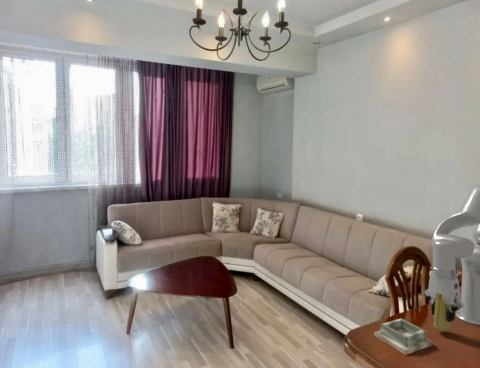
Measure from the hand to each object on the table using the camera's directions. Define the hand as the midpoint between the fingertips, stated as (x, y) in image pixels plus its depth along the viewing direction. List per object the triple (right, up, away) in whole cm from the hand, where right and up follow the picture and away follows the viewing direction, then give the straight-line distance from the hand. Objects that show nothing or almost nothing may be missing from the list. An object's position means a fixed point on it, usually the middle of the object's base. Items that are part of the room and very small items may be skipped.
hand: (442, 316), depth 133 cm
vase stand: (-18, -7, -4) cm, 19 cm away
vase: (0, -4, +1) cm, 4 cm away
